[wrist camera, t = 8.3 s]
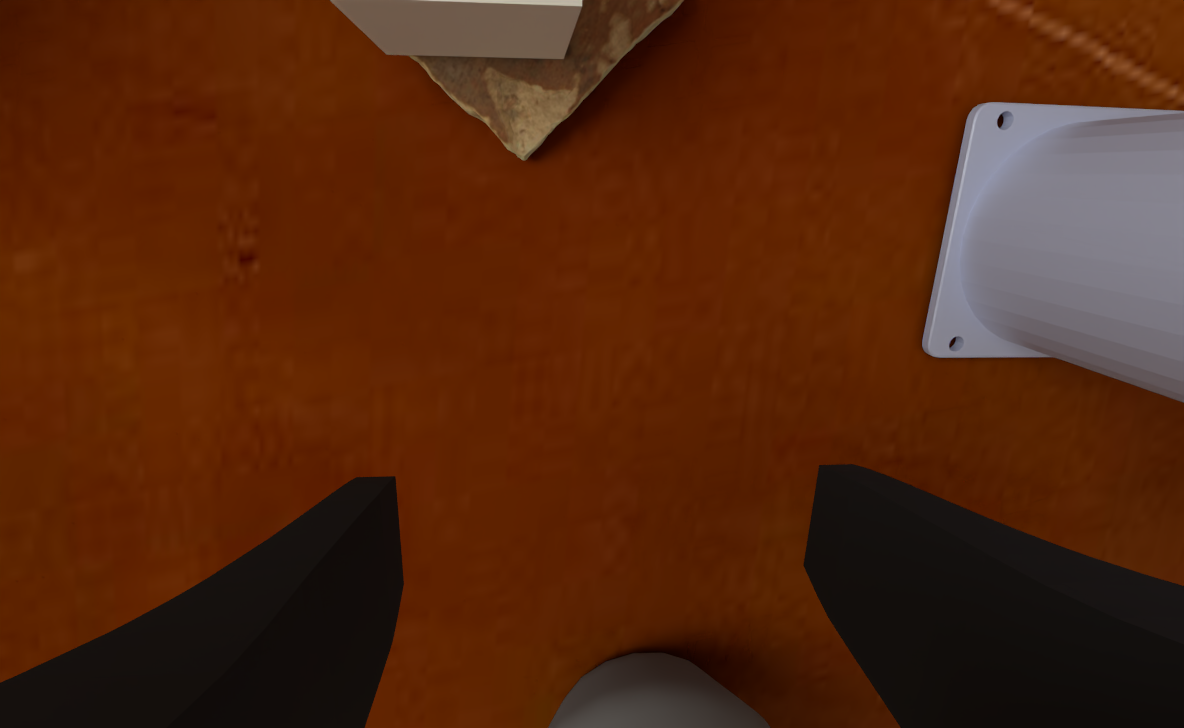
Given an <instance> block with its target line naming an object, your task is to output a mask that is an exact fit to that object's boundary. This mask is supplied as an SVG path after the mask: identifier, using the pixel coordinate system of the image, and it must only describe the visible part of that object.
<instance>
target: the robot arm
mask: <svg viewBox="0 0 1184 728" xmlns="http://www.w3.org/2000/svg"><path fill="white" fill-rule="evenodd" d="M1000 114H1002V116H1003V118H1004V122H1003V124H1002V126H1001V127H1000V128H999V127H998V126H997V119H998V117H999V115H1000ZM954 337H956V341H955V343H954V345H953V346H952V347H950V348H949V343H950V341H951V340H952V339H953V338H954ZM922 347H923V349H924V351H925V352H926V353H927V354H929V355H931V356H933V357H938V358H984V357H1055V358H1058V359H1060V360H1063V361H1066V362H1069V363H1072V364H1075V365H1078V366H1080V367H1083V368H1086V369H1089V370H1092V371H1095V372H1098V373H1101V374H1103V375H1106V376H1109V377H1112V378H1115V379H1118V380H1121V381H1123V382H1126V383H1129V384H1132V385H1135V386H1138V387H1141V388H1143V389H1146V390H1149V391H1152V392H1155V393H1158V394H1161V395H1163V396H1166V397H1169V398H1172V399H1175V400H1178V401H1181V402H1183V403H1184V111H1174V110H1152V109H1131V108H1109V107H1088V106H1066V105H1045V104H1023V103H1001V102H990V103H984V104H979V105H977V106H976V107H974V108H973V109H972V111H971V112H970V113H969V115H968V118H967V121H966V126H965V131H964V136H963V141H962V146H961V151H960V156H959V161H958V166H957V171H956V176H955V181H954V186H953V191H952V196H951V201H950V206H949V211H948V216H947V221H946V226H945V231H944V236H943V241H942V246H941V250H940V255H939V260H938V265H937V270H936V275H935V280H934V285H933V290H932V295H931V300H930V305H929V310H928V315H927V320H926V325H925V330H924V335H923V340H922ZM804 567H805V570H806V572H807V574H808V576H809V578H810V581H811V583H812V585H813V587H814V589H815V592H816V594H817V596H818V598H819V600H820V602H821V604H822V606H823V608H824V610H825V612H826V614H827V616H828V618H829V619H830V621H831V622H832V624H833V625H834V627H835V629H836V630H837V632H838V633H839V635H840V636H841V638H842V639H843V641H844V643H845V644H846V646H847V647H848V649H849V650H850V652H851V653H852V655H853V656H854V658H855V659H856V661H857V662H858V664H859V665H860V667H861V668H862V670H863V671H864V673H865V674H866V676H867V677H868V679H869V680H870V682H871V683H872V685H873V686H874V688H875V689H876V691H877V692H878V694H879V695H880V697H881V698H882V700H883V701H884V703H885V704H886V706H887V707H888V709H889V710H890V712H891V713H892V715H893V716H894V718H895V719H896V721H897V722H898V724H899V725H900V727H901V728H1184V586H1181V585H1178V584H1175V583H1171V582H1168V581H1164V580H1161V579H1158V578H1154V577H1151V576H1148V575H1144V574H1141V573H1138V572H1135V571H1132V570H1129V569H1126V568H1123V567H1120V566H1117V565H1114V564H1111V563H1107V562H1104V561H1101V560H1098V559H1095V558H1092V557H1089V556H1086V555H1083V554H1080V553H1078V552H1075V551H1072V550H1069V549H1066V548H1064V547H1061V546H1058V545H1055V544H1053V543H1050V542H1048V541H1045V540H1042V539H1040V538H1037V537H1035V536H1032V535H1029V534H1027V533H1024V532H1022V531H1019V530H1016V529H1014V528H1011V527H1009V526H1006V525H1004V524H1001V523H999V522H996V521H994V520H991V519H989V518H987V517H984V516H982V515H979V514H977V513H975V512H972V511H970V510H967V509H965V508H963V507H960V506H958V505H956V504H953V503H951V502H949V501H946V500H944V499H942V498H939V497H937V496H935V495H932V494H930V493H927V492H925V491H923V490H920V489H918V488H916V487H913V486H911V485H909V484H906V483H904V482H901V481H899V480H896V479H894V478H891V477H889V476H886V475H884V474H881V473H878V472H876V471H873V470H870V469H867V468H864V467H860V466H857V465H853V464H847V465H819V471H818V477H817V483H816V490H815V496H814V502H813V509H812V515H811V522H810V528H809V534H808V541H807V547H806V553H805V560H804ZM403 585H404V581H403V568H402V555H401V543H400V530H399V517H398V505H397V492H396V479H395V476H392V477H356V478H355V479H353V480H351V481H349V482H348V483H346V484H345V485H343V486H342V487H340V488H339V489H338V490H336V491H335V492H333V493H332V494H331V495H329V496H328V497H326V498H325V499H324V500H322V501H321V502H319V503H318V504H317V505H315V506H314V507H313V508H311V509H310V510H308V511H307V512H306V513H304V514H303V515H301V516H300V517H299V518H297V519H296V520H294V521H293V522H292V523H290V524H289V525H287V526H286V527H285V528H283V529H282V530H280V531H279V532H278V533H276V534H275V535H273V536H272V537H270V538H269V539H267V540H266V541H264V542H263V543H261V544H260V545H258V546H257V547H255V548H254V549H252V550H251V551H249V552H247V553H246V554H244V555H243V556H241V557H240V558H238V559H237V560H235V561H234V562H232V563H230V564H229V565H227V566H226V567H224V568H223V569H221V570H220V571H218V572H217V573H215V574H213V575H212V576H210V577H209V578H207V579H205V580H204V581H202V582H200V583H199V584H197V585H195V586H194V587H192V588H190V589H189V590H187V591H185V592H183V593H182V594H180V595H178V596H176V597H175V598H173V599H171V600H169V601H168V602H166V603H164V604H162V605H160V606H158V607H156V608H155V609H153V610H151V611H149V612H147V613H145V614H143V615H142V616H140V617H138V618H136V619H134V620H132V621H130V622H129V623H127V624H125V625H123V626H121V627H119V628H117V629H115V630H113V631H111V632H109V633H107V634H105V635H103V636H100V637H98V638H96V639H94V640H92V641H90V642H88V643H85V644H83V645H81V646H79V647H77V648H75V649H73V650H71V651H68V652H66V653H64V654H62V655H60V656H58V657H56V658H53V659H51V660H49V661H47V662H45V663H43V664H41V665H38V666H36V667H34V668H32V669H30V670H28V671H26V672H24V673H21V674H19V675H17V676H15V677H13V678H10V679H8V680H6V681H3V682H1V683H0V728H364V727H365V724H366V721H367V718H368V715H369V712H370V709H371V706H372V703H373V700H374V697H375V694H376V691H377V688H378V685H379V682H380V679H381V676H382V673H383V670H384V667H385V664H386V661H387V658H388V654H389V651H390V648H391V645H392V642H393V637H394V632H395V627H396V622H397V617H398V612H399V607H400V601H401V596H402V590H403Z"/></svg>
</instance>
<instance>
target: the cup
mask: <svg viewBox="0 0 1184 728" xmlns="http://www.w3.org/2000/svg"><path fill="white" fill-rule="evenodd" d="M548 728H770V726H769V725H768V723H767V722H766V721H765V719H764V718H763V717H762V716H761V715H759V714H758V713H757V712H756V711H755V710H753V709H752V708H751V707H749V706H748V705H747V704H746V703H744V702H743V701H742V700H740V699H739V698H738V697H736V696H735V695H734V694H733V693H731V692H730V691H729V690H727V689H726V688H725V687H723V686H722V685H721V684H720V683H718V682H717V681H716V680H714V679H713V678H712V677H710V676H709V675H708V674H706V673H705V672H704V671H702V670H701V669H700V668H698V667H697V666H696V665H694V664H693V663H691V662H690V661H689V660H686V659H682V658H679V657H676V656H672V655H669V654H666V653H632V654H629V655H626V656H623V657H619V658H616V659H613V660H609V661H606V662H604V663H603V664H601V665H600V666H598V667H597V668H595V669H593V670H592V671H590V672H589V673H587V674H586V675H584V676H583V677H581V678H580V680H579V681H578V682H577V683H576V685H575V686H574V687H573V688H572V690H571V691H570V692H569V693H568V695H567V696H566V697H565V699H564V700H563V702H562V704H561V705H560V707H559V709H558V711H557V712H556V714H555V716H554V718H553V720H552V722H551V723H550V725H549V727H548Z"/></svg>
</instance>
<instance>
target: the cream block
mask: <svg viewBox="0 0 1184 728" xmlns="http://www.w3.org/2000/svg"><path fill="white" fill-rule="evenodd" d="M330 1H331V2H332V3H333V4H334V5H335V6H336V7H337V8H338V9H339V10H340V11H342V12H343V13H344V14H345V15H346V16H347V17H348V18H349V19H350V20H351V21H352V22H353V23H354V24H355V25H356V26H357V27H358V28H359V29H360V30H361V31H362V32H364V33H365V34H366V35H367V36H368V37H369V38H370V39H371V40H372V41H373V42H374V43H375V44H376V45H377V46H378V47H379V48H380V49H381V50H382V51H383V52H384V53H386V54H387V55H422V56H460V57H498V58H536V59H564V56H565V54H566V51H567V48H568V45H569V42H570V39H571V37H572V34H573V31H574V28H575V25H576V22H577V20H578V17H579V14H580V11H581V8H582V0H330Z"/></svg>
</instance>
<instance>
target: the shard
mask: <svg viewBox="0 0 1184 728" xmlns="http://www.w3.org/2000/svg"><path fill="white" fill-rule="evenodd" d="M683 1H684V0H582V8H581V11H580V14H579V17H578V20H577V22H576V25H575V28H574V31H573V34H572V37H571V39H570V42H569V45H568V48H567V51H566V54H565V56H564V59H536V58H498V57H460V56H422V55H409V57H411V58H412V59H413V60H415V61H417V62H418V63H419V64H420V65H421V66H422V67H423V68H424V69H425V70H426V71H427V73H428V74H429V76H430V77H431V78H432V80H433V81H434V82H436V83H437V84H439V85H440V86H441V88H442V89H443V90H444V91H445V92H446V93H447V94H448V95H449V96H450V97H451V98H452V99H453V100H454V101H455V102H456V103H457V104H458V105H459V106H460V107H461V108H463V109H464V110H465V111H466V112H467V113H468V114H469V115H472V116H474V117H476V118H479V119H480V120H482V121H483V122H484V123H486V124H487V125H488V126H489V128H490V129H491V130H492V131H493V132H494V133H495V134H496V135H497V137H498V138H499V139H500V140H501V141H502V143H503V144H504V146H505V147H506V148H507V150H509V151H511V152H513V153H515V154H516V155H517V157H519V158H520V159H522V160H527V159H528V157H529V156H530V155H531V154H532V153H533V152H534V151H535V150H536V149H537V148H538V147H539V146H540V145H541V144H542V143H543V142H544V140H545V139H546V137H547V136H548V135H549V134H550V133H551V132H552V131H553V130H554V128H555V127H556V126H557V125H558V124H560V123H561V122H562V121H564V120H565V119H566V118H568V117H569V116H570V115H571V114H572V113H573V111H574V110H575V109H576V108H577V107H578V106H579V105H580V103H581V102H582V101H583V100H584V99H585V98H586V97H587V96H588V95H589V94H590V93H591V92H592V91H593V90H594V89H595V87H596V86H597V85H598V84H599V83H600V82H601V81H602V80H603V79H604V78H605V77H606V75H607V74H608V73H609V72H610V71H611V70H612V69H613V68H614V66H615V65H616V64H617V63H618V62H619V61H620V59H621V58H622V57H623V56H624V55H625V54H626V53H628V52H629V51H630V50H631V49H632V48H633V47H634V46H635V44H637V43H638V42H640V41H641V40H642V39H644V38H645V37H646V36H647V35H648V34H649V33H650V32H651V31H652V30H653V29H654V28H655V27H656V26H657V25H659V24H660V23H661V22H662V21H663V20H664V19H666V18H667V17H669V16H671V15H672V14H673V12H674V11H675V10H676V9H677V8H678V7H679V6H680V4H681V3H682V2H683Z"/></svg>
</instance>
